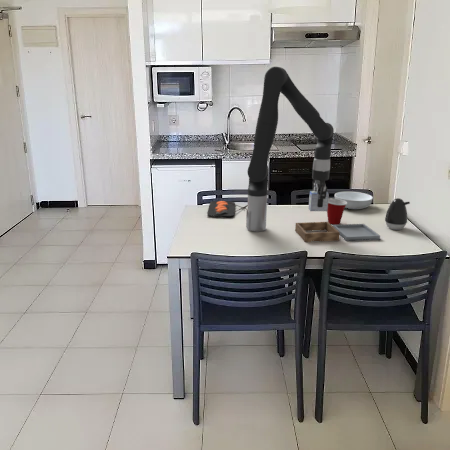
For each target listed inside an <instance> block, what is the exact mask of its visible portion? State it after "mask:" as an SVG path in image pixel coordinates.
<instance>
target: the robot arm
mask: <svg viewBox="0 0 450 450" xmlns="http://www.w3.org/2000/svg"><path fill="white" fill-rule="evenodd" d="M263 79H264V80H263V87H262V98H261V103H260V107H259V110H258V112H259V113H258V116H257V120H256V127H255V130H254V131H255V132H254V139H253V149H252V153H251V158H250V161H249V164H248V168H247V176H248V187H247V205H248V206H247V207H246V209H247V210H246V218H245V220H246V223H245V224H246V225H245V227H246V230H247V231H248V232H263V231H266V230H267V210H268V209H267V208H268V189H269V173H270V172H269V171H270V170H269V165H268V163H269V162H268V161H269V154H270V152H271V149H272V145H273V143H274V140H275V137H276V134H277V133H276V132H277V128H278V124H279V99H280V94H282V95H283V96H284V97H285V98H286V100H288V102H289V103H290V104H291V106H292V108H293V110H294V111H295V113H297V115H298V116H299V118H301V119H302V120H303V122H304V123H305V124H307V126H308V128H309V129H310V131H311V132H312V134H313V135H314V136H315V137H316V138H317V139H316V140H317V141H316V145H315V148H314V155H313V156H314V157H313V162H312V172H311V173H312V175H311V178H312V191H317V194H318V205H317V206H318V207H323V199H325V198H326V193H327V192H328V186H326V181H328V180H329V179H330V172H331V153H332V145H333V139H334V133H335V131H334V129H335V128H334V127H333V125H332V124H331V123H330V122H326V121H325V120H324V119H323V118H322V117H321V115H320V112H319V111H318V110H317V109H316V108H315V106H314V105H313V104H312V103H311V102H310V101H309V100H308V99H307V98H306V97H305V95H303V93H302V92H301V91H300V90H299V88H298V87H297V86H296V84H295V83H294V82H293V80H292V79H291V77H290V75H289V73H288V72H287V71H286V69H285V68H283V67H280V66H271V67H269V68H268V69H267V70H266V72H265V74H264V77H263Z"/></svg>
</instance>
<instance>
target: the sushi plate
mask: <svg viewBox="0 0 450 450" xmlns="http://www.w3.org/2000/svg"><path fill="white" fill-rule="evenodd" d="M236 207H239V209H237V210H236ZM247 208H248V204H247V205H245V206H240V205H237V204H236V202H235V201H228V200H227V201H225V200H216V201H212V200H211V201H210V203H209V205H208V208H207V212H206V213H207V216H209V217H219V218H221V217H222V218H225V217H226V218H227V217H233V216H235V213H237V212H238V211H240V210H242V209H243V210H246V211H247Z"/></svg>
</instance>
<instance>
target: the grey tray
mask: <svg viewBox="0 0 450 450" xmlns="http://www.w3.org/2000/svg"><path fill="white" fill-rule="evenodd" d="M332 226H333V227H334V228H335V229H337V230H338V231H339V232H340V235H339V237H341V238H342V239H343V238H344V239H343V240H344V241H345V242H357V241H358V242H359V241H361V242H362V241H380V239H381V235H380V234H378V233H377V232H376V231H375V230H373V229H372V228H370V227H369V226H368V225H366V223H352V224H351V223H348V224H347V223H346V224H345V223H343V224H339V225H332Z"/></svg>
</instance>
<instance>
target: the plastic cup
mask: <svg viewBox="0 0 450 450" xmlns="http://www.w3.org/2000/svg"><path fill="white" fill-rule="evenodd" d="M346 204H347V202H346V201H344V200H340V199H335V198H334V197H333V198H329V197H328V208H327V211H326V214H327V222H329V223H330V224H332V226H333V225H341V220H342V217H343V214H344V212H345V206H346Z"/></svg>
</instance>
